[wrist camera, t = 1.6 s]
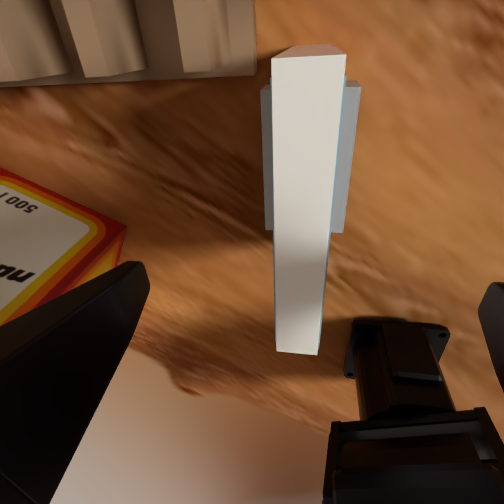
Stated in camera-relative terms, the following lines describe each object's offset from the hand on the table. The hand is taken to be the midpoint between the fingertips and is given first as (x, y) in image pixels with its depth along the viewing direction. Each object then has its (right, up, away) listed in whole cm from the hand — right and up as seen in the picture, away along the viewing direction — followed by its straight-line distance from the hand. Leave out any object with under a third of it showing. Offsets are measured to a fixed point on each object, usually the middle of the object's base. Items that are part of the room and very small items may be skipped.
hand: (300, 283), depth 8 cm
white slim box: (+2, +6, +8) cm, 11 cm away
